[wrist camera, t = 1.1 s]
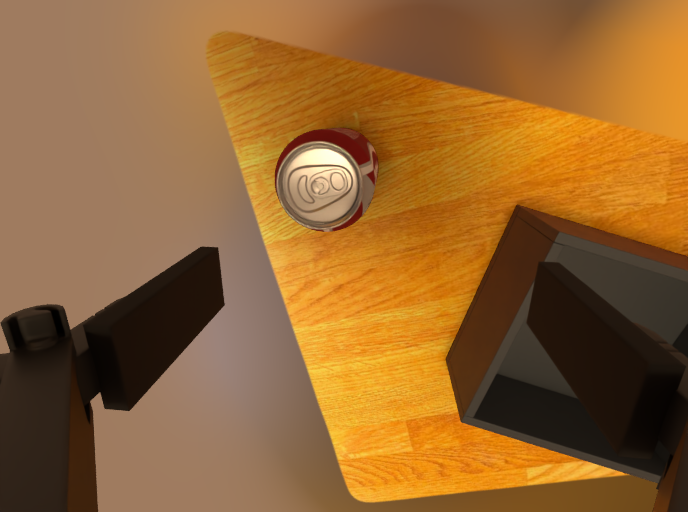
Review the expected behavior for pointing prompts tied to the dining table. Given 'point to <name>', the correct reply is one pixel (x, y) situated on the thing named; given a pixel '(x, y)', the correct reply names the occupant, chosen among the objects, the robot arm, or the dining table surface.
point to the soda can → (327, 178)
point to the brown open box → (528, 354)
